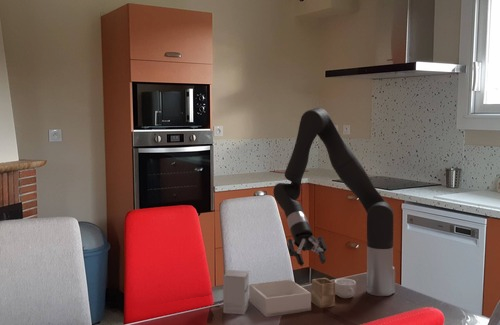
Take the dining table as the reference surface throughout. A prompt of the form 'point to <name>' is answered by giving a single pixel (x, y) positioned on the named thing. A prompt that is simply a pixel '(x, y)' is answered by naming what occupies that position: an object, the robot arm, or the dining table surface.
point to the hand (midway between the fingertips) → (313, 263)
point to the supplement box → (235, 292)
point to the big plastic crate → (279, 298)
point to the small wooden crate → (323, 292)
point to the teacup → (345, 287)
